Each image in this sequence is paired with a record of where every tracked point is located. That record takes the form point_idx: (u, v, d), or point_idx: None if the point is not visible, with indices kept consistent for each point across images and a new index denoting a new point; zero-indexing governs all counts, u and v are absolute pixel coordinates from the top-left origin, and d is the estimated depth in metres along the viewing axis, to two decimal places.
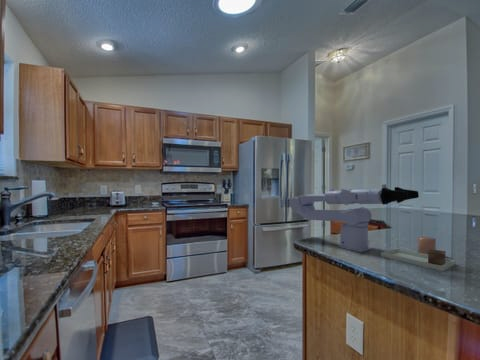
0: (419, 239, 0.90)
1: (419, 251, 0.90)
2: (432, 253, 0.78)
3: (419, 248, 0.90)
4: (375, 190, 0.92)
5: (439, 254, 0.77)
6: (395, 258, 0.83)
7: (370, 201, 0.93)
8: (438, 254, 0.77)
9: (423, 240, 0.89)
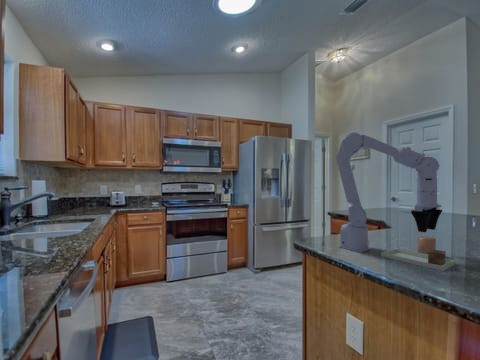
0: (419, 239, 0.90)
1: (419, 251, 0.90)
2: (432, 253, 0.78)
3: (419, 248, 0.90)
4: (431, 199, 0.87)
5: (439, 254, 0.77)
6: (395, 258, 0.83)
7: (418, 193, 0.90)
8: (438, 254, 0.77)
9: (423, 240, 0.89)
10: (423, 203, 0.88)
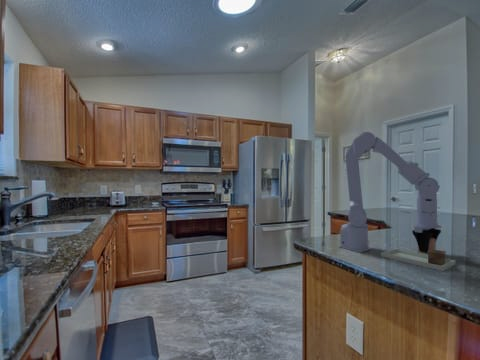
0: None
1: (419, 251, 0.90)
2: (432, 253, 0.78)
3: None
4: (431, 220, 0.87)
5: (439, 254, 0.77)
6: (395, 258, 0.83)
7: (418, 213, 0.90)
8: (438, 254, 0.77)
9: None
10: (423, 223, 0.88)
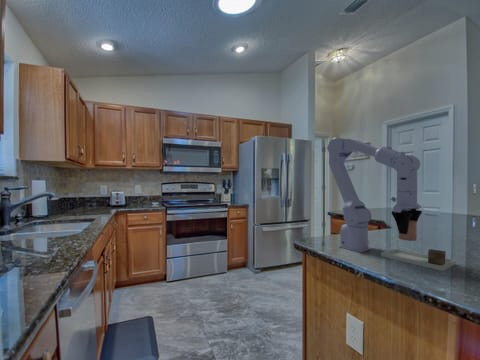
0: None
1: (400, 234, 0.85)
2: (432, 253, 0.78)
3: None
4: (410, 200, 0.83)
5: (439, 254, 0.77)
6: (395, 258, 0.83)
7: (397, 193, 0.86)
8: (438, 254, 0.77)
9: None
10: (403, 203, 0.84)
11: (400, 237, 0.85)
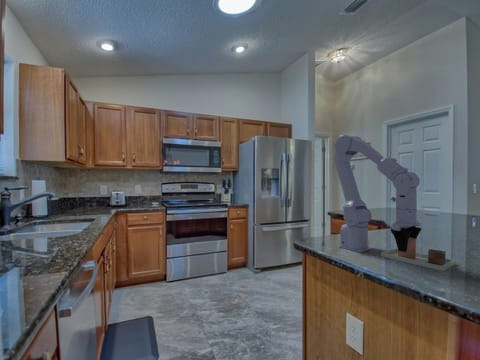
0: None
1: (399, 252, 0.85)
2: (432, 253, 0.78)
3: None
4: (410, 217, 0.83)
5: (439, 254, 0.77)
6: (395, 258, 0.83)
7: (397, 210, 0.86)
8: (438, 254, 0.77)
9: None
10: (402, 221, 0.84)
11: (399, 254, 0.85)
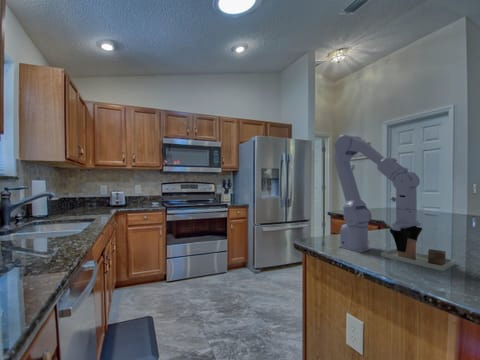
0: None
1: (399, 253, 0.85)
2: (432, 253, 0.78)
3: None
4: (410, 217, 0.83)
5: (439, 254, 0.77)
6: (395, 258, 0.83)
7: (397, 210, 0.86)
8: (438, 254, 0.77)
9: None
10: (402, 221, 0.84)
11: None
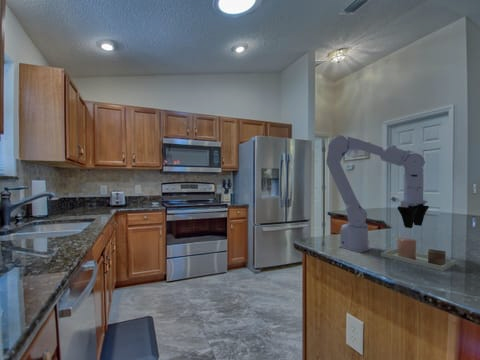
0: (399, 241, 0.85)
1: (399, 253, 0.85)
2: (432, 253, 0.78)
3: (399, 250, 0.85)
4: (417, 195, 0.88)
5: (439, 254, 0.77)
6: (395, 258, 0.83)
7: (404, 189, 0.91)
8: (438, 254, 0.77)
9: (403, 242, 0.84)
10: (409, 199, 0.89)
11: None
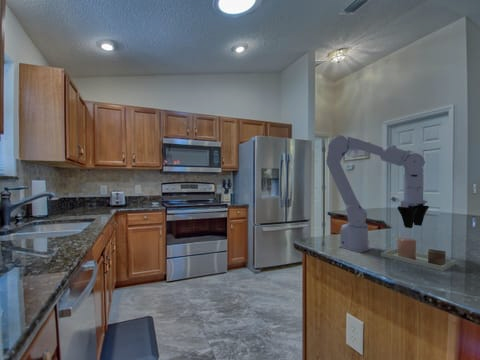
0: (399, 241, 0.85)
1: (399, 253, 0.85)
2: (432, 253, 0.78)
3: (399, 250, 0.85)
4: (417, 195, 0.88)
5: (439, 254, 0.77)
6: (395, 258, 0.83)
7: (404, 189, 0.91)
8: (438, 254, 0.77)
9: (403, 242, 0.84)
10: (409, 199, 0.89)
11: None
